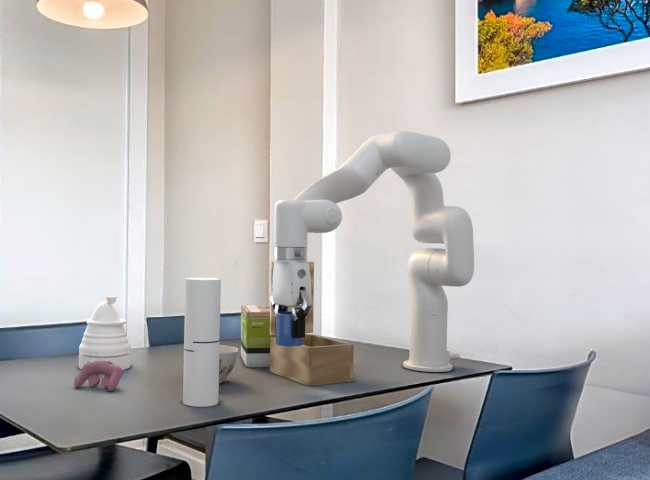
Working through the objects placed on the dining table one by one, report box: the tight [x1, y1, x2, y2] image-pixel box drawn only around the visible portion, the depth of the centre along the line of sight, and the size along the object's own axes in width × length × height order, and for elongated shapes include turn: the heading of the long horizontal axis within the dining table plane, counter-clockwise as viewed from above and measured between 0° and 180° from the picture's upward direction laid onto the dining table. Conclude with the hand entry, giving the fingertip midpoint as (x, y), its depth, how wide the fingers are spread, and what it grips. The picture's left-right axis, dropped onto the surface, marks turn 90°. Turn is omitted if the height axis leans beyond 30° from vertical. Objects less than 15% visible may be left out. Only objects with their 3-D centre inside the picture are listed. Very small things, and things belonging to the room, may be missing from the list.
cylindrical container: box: [182, 277, 222, 408], centre depth 136 cm, size 7×7×25 cm
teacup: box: [219, 344, 239, 384], centre depth 157 cm, size 15×12×8 cm
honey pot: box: [78, 295, 131, 371], centre depth 172 cm, size 13×13×18 cm
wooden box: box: [269, 334, 355, 387], centre depth 164 cm, size 18×13×9 cm
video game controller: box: [73, 360, 124, 392], centre depth 148 cm, size 10×5×7 cm, turn 71°
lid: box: [269, 261, 315, 335], centre depth 174 cm, size 18×13×5 cm
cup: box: [276, 311, 304, 346], centre depth 151 cm, size 6×6×7 cm
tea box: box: [240, 304, 276, 368], centre depth 182 cm, size 15×10×15 cm, turn 6°
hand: (289, 334), depth 151 cm, fingers closed on cup, 6 cm apart
